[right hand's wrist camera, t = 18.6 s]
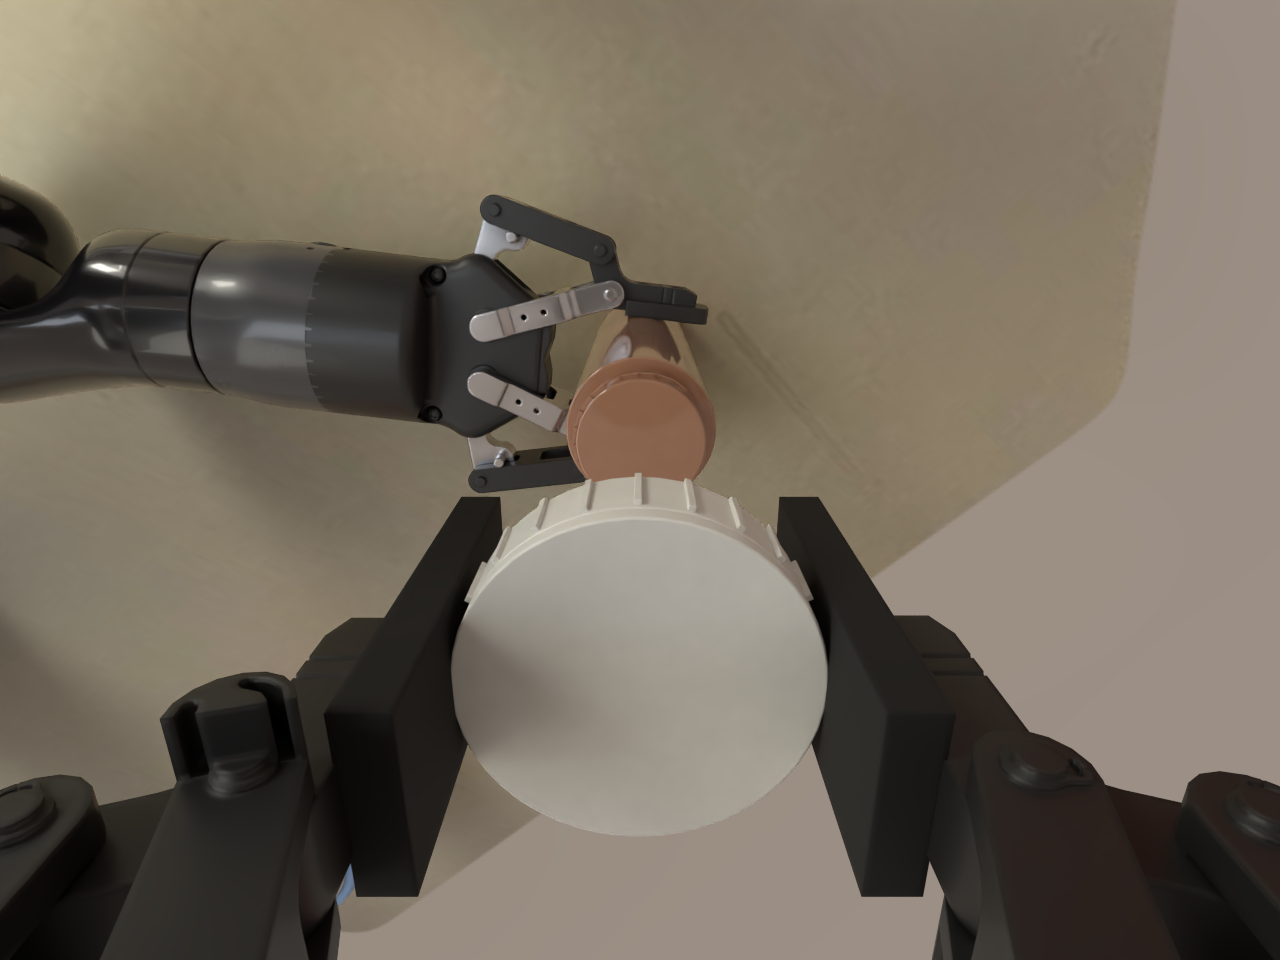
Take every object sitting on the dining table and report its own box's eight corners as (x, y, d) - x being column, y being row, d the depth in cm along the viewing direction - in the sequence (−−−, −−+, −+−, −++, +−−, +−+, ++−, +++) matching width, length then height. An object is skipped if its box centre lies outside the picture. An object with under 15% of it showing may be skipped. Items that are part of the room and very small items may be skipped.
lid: (854, 703, 12) (884, 772, 11) (561, 806, 13) (551, 883, 12) (736, 414, 11) (752, 447, 9) (406, 553, 12) (369, 604, 10)
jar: (587, 309, 39) (545, 381, 22) (677, 292, 39) (707, 351, 21) (605, 396, 41) (579, 529, 23) (691, 381, 41) (731, 503, 23)
